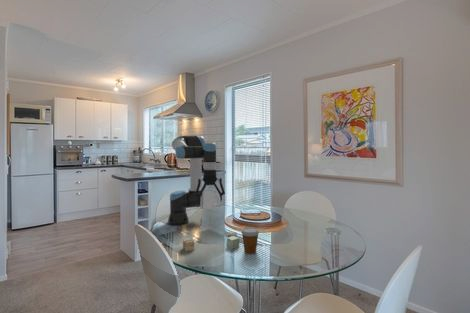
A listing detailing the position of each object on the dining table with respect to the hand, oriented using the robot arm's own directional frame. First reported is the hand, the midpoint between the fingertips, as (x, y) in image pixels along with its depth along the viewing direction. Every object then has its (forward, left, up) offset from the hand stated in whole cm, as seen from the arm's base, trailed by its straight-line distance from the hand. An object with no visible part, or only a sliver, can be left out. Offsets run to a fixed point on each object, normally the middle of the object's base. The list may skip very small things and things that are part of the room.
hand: (210, 206), depth 159 cm
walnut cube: (+1, +13, -22) cm, 25 cm away
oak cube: (+7, -13, -22) cm, 26 cm away
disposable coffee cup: (+17, +20, -22) cm, 34 cm away
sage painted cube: (+8, +12, -22) cm, 26 cm away
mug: (0, +1, -1) cm, 1 cm away
